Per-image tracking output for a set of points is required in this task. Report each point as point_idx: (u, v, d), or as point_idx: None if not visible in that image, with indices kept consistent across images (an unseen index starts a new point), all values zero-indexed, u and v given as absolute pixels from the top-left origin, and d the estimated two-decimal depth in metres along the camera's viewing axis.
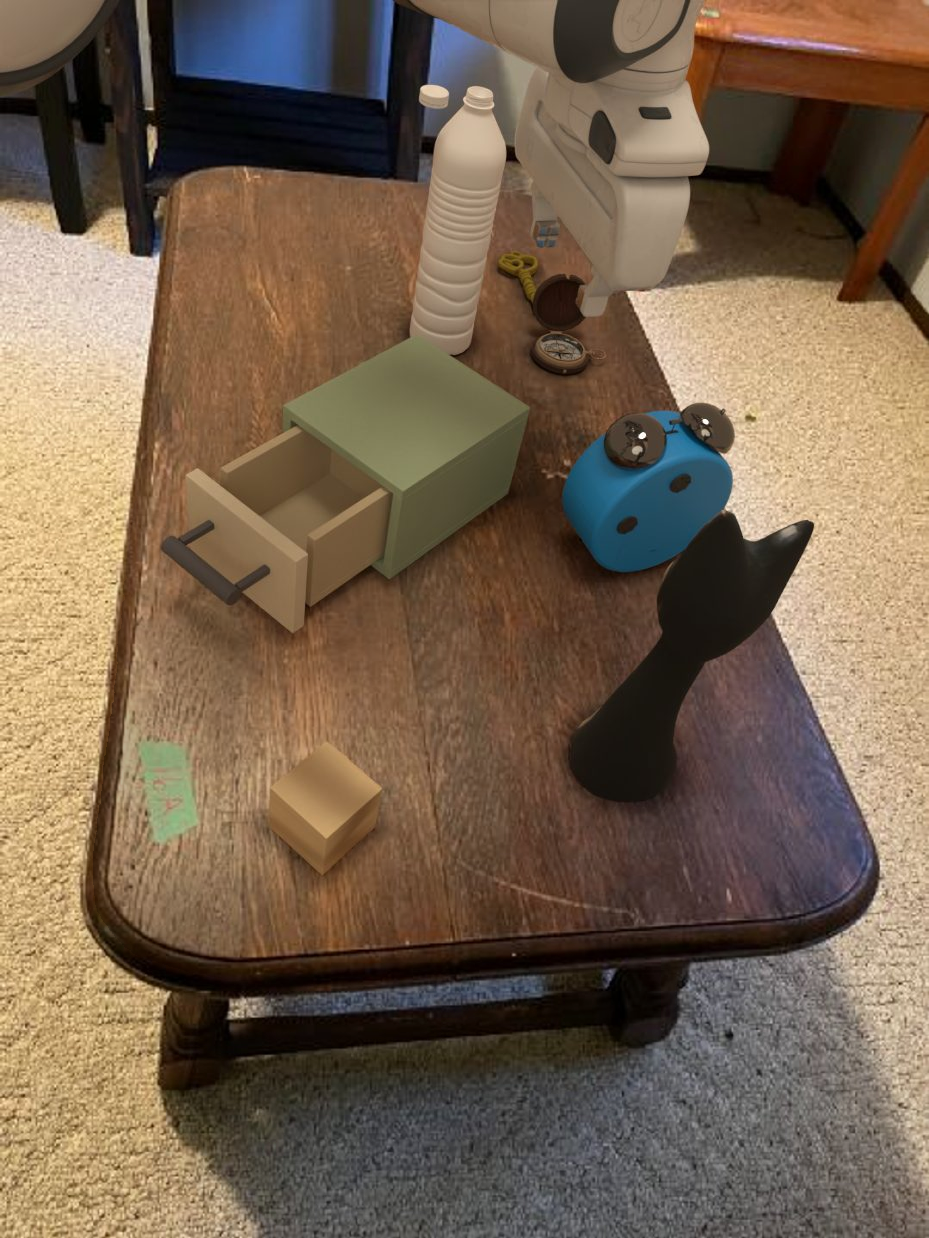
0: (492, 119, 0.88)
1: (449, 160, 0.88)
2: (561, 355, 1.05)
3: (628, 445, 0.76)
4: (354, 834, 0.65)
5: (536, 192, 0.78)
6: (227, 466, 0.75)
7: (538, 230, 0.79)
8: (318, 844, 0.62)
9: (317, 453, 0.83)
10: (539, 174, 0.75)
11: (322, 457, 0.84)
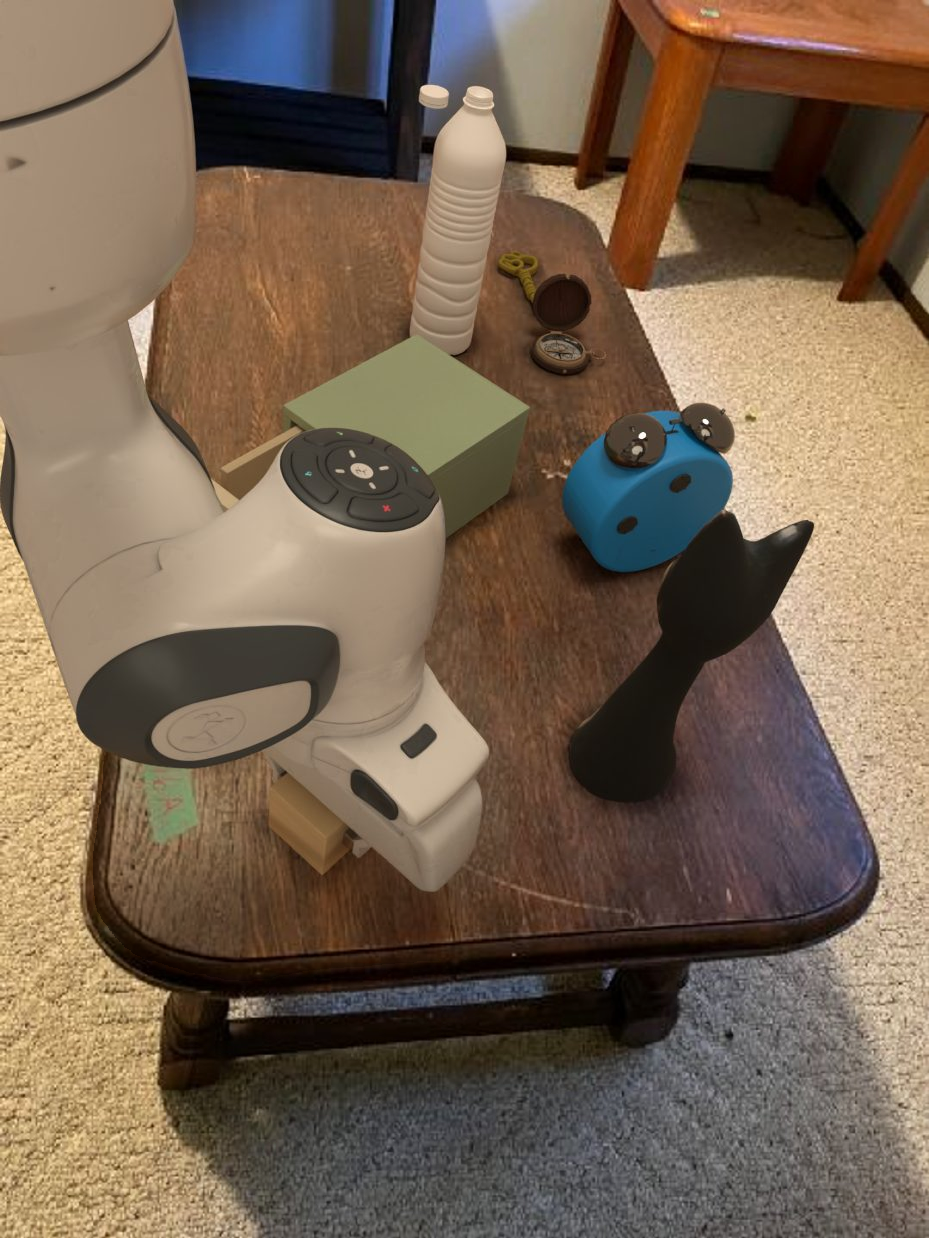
0: (492, 119, 0.88)
1: (449, 160, 0.88)
2: (561, 355, 1.05)
3: (628, 445, 0.76)
4: None
5: None
6: (227, 466, 0.75)
7: None
8: (318, 843, 0.62)
9: None
10: None
11: None
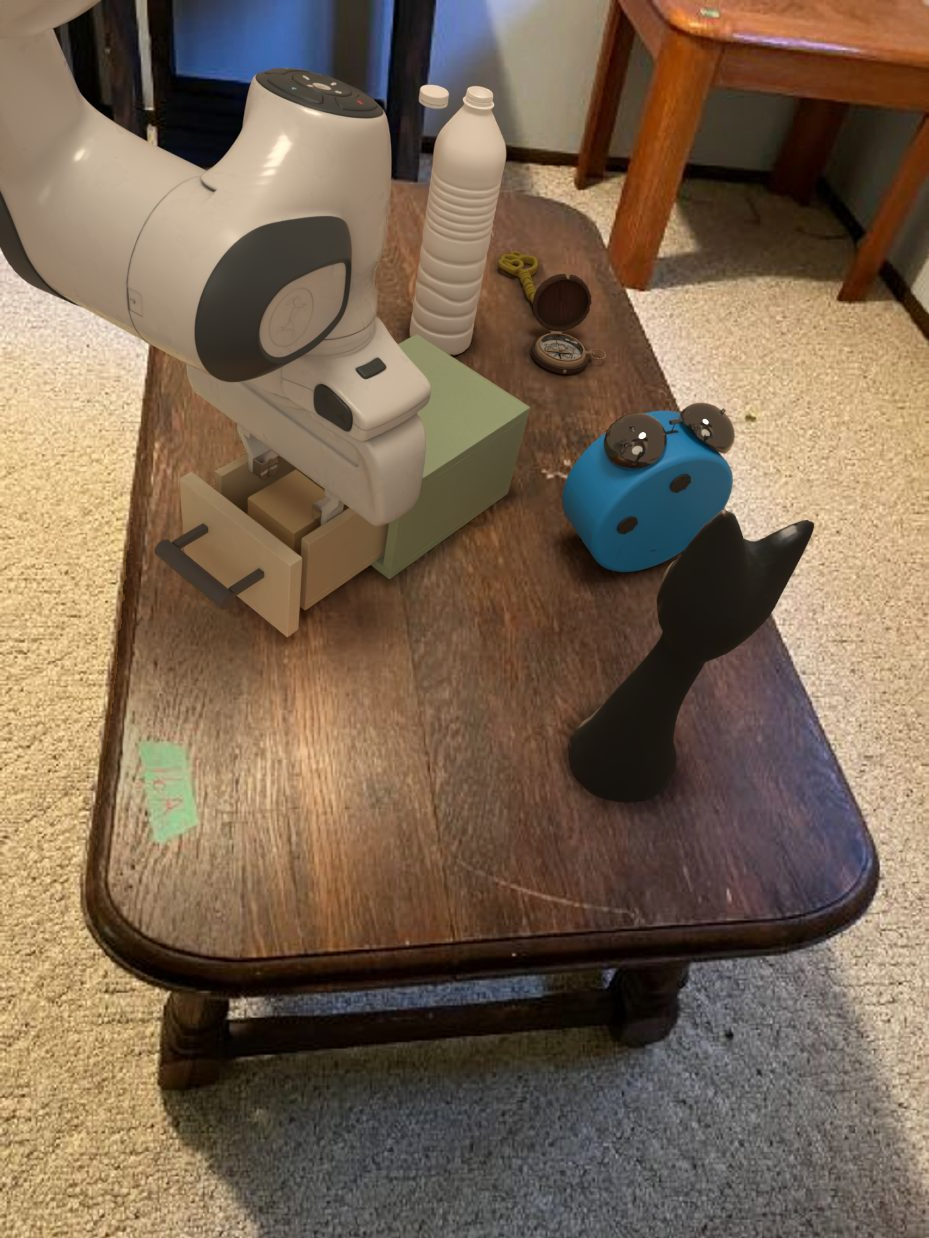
0: (492, 119, 0.88)
1: (449, 160, 0.88)
2: (561, 355, 1.05)
3: (628, 445, 0.76)
4: None
5: (245, 434, 0.74)
6: (221, 469, 0.75)
7: (259, 467, 0.75)
8: (288, 543, 0.75)
9: None
10: (238, 414, 0.72)
11: None
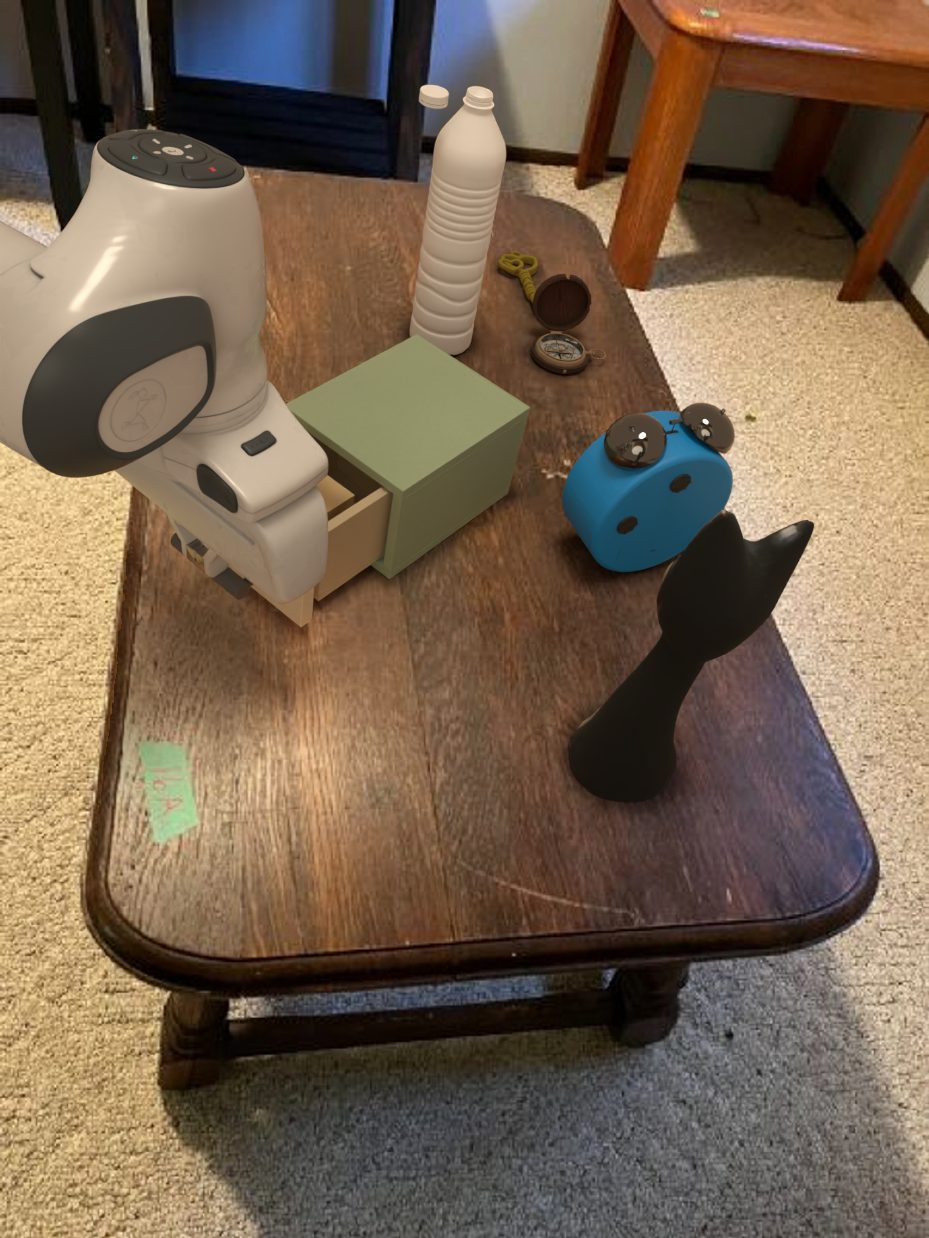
0: (492, 119, 0.88)
1: (449, 160, 0.88)
2: (561, 355, 1.05)
3: (628, 445, 0.76)
4: None
5: (175, 520, 0.69)
6: None
7: (193, 553, 0.70)
8: None
9: (324, 449, 0.83)
10: (137, 482, 0.68)
11: (329, 453, 0.84)
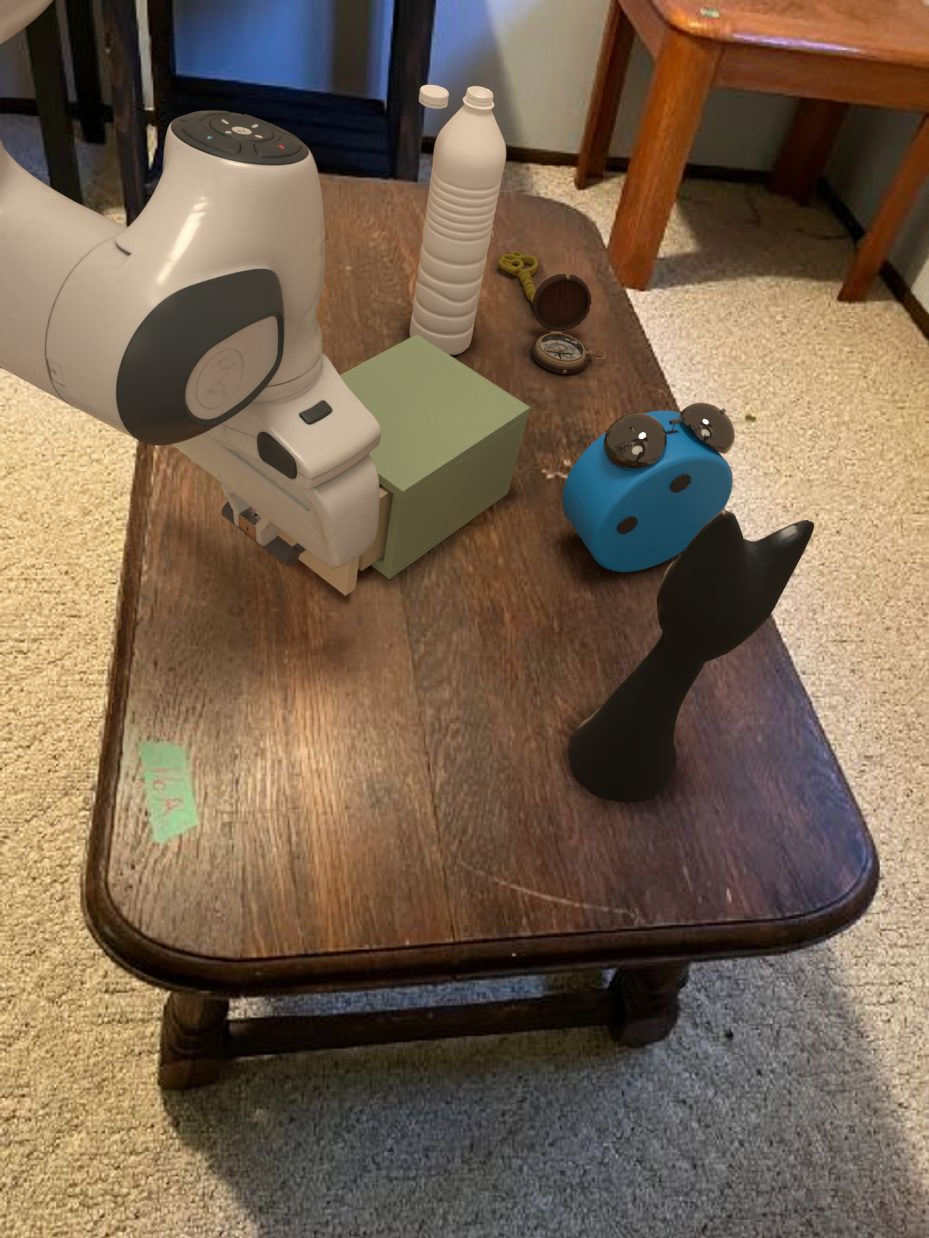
0: (492, 119, 0.88)
1: (449, 160, 0.88)
2: (561, 355, 1.05)
3: (628, 445, 0.76)
4: None
5: (228, 490, 0.71)
6: None
7: (245, 522, 0.73)
8: None
9: None
10: (193, 453, 0.70)
11: None
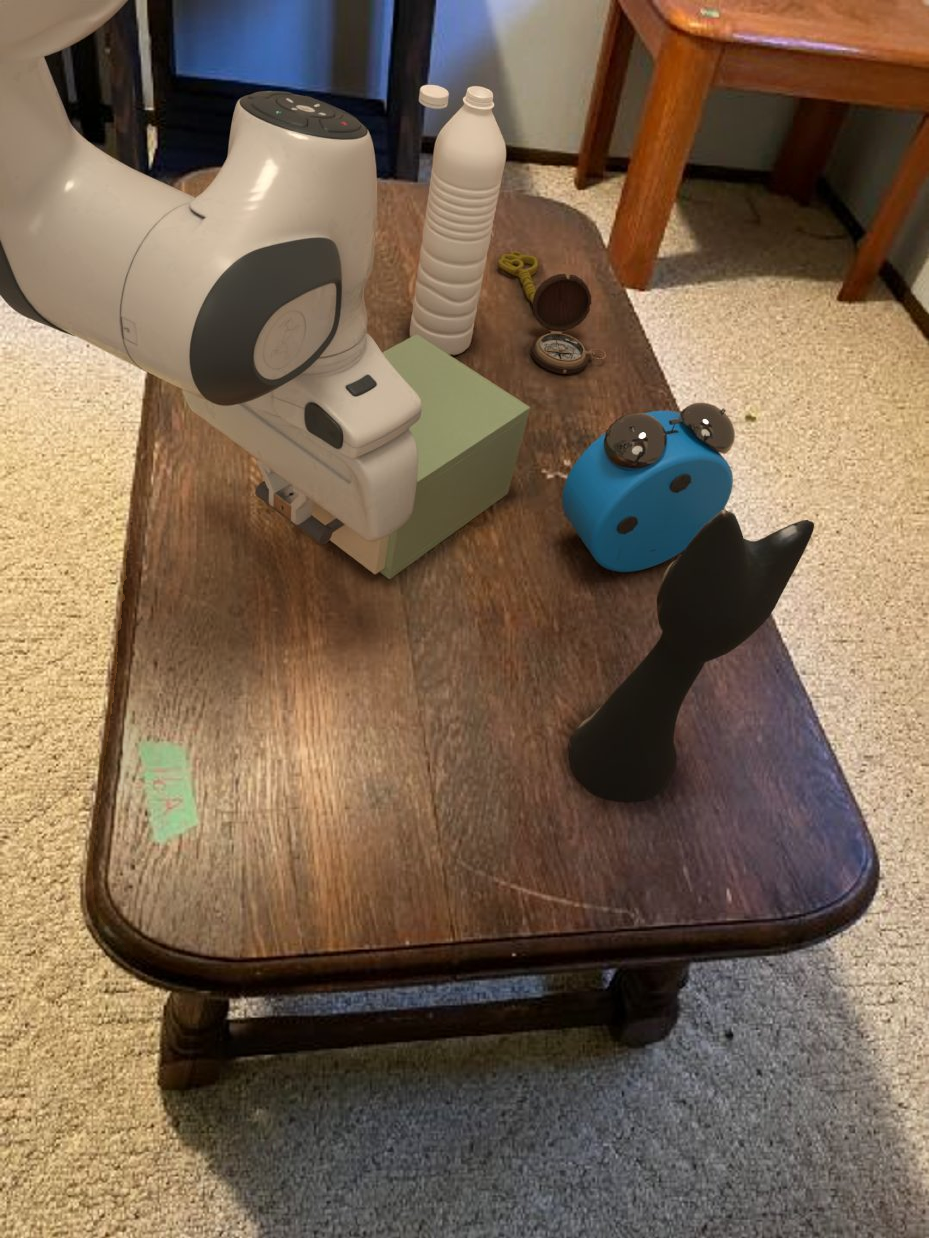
0: (492, 119, 0.88)
1: (449, 160, 0.88)
2: (561, 355, 1.05)
3: (628, 445, 0.76)
4: None
5: (265, 469, 0.74)
6: None
7: (280, 501, 0.75)
8: None
9: None
10: (233, 431, 0.72)
11: None
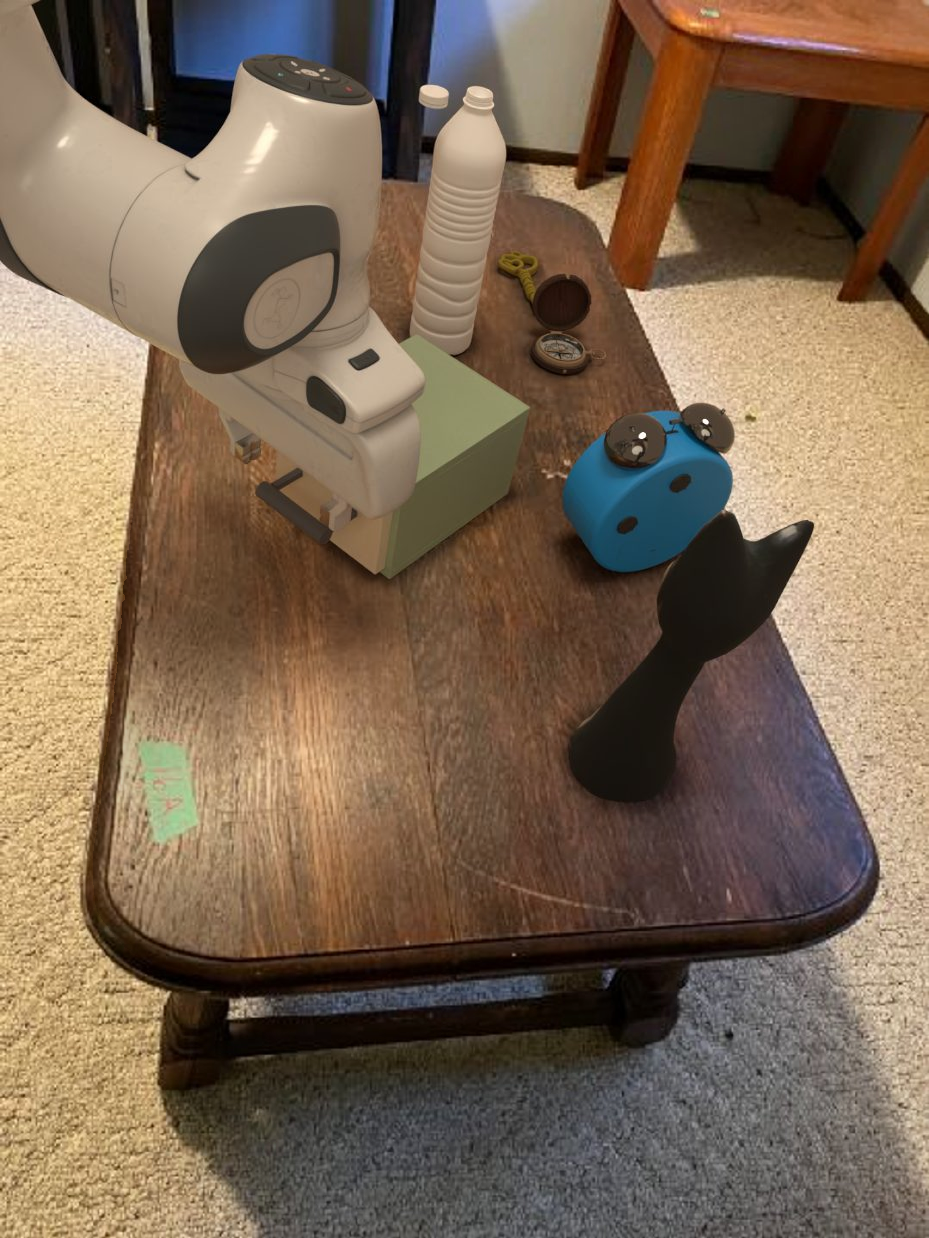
0: (492, 120, 0.88)
1: (449, 160, 0.88)
2: (561, 355, 1.05)
3: (628, 445, 0.76)
4: None
5: (226, 417, 0.74)
6: None
7: (241, 450, 0.75)
8: None
9: None
10: (231, 407, 0.71)
11: None
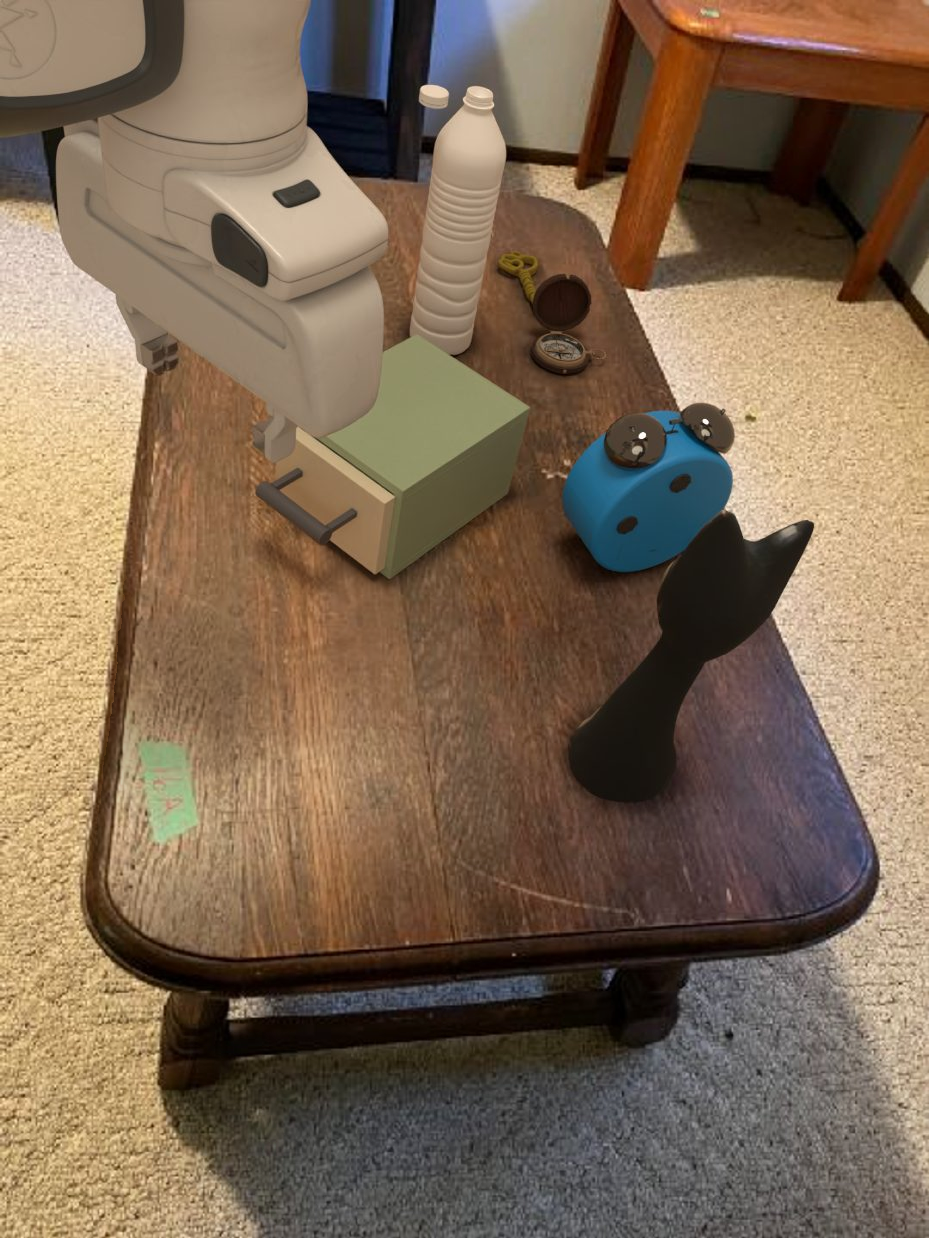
0: (492, 119, 0.88)
1: (449, 160, 0.88)
2: (561, 355, 1.05)
3: (628, 445, 0.76)
4: None
5: (127, 308, 0.54)
6: None
7: (150, 356, 0.56)
8: None
9: None
10: (127, 289, 0.52)
11: None
